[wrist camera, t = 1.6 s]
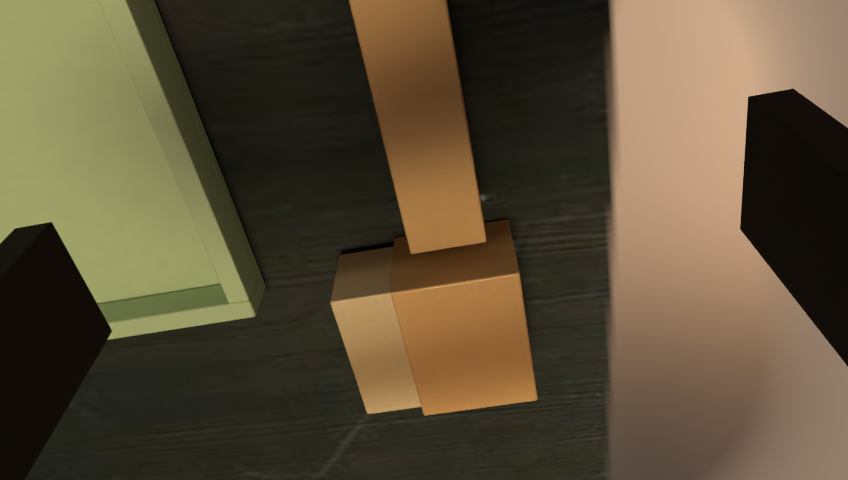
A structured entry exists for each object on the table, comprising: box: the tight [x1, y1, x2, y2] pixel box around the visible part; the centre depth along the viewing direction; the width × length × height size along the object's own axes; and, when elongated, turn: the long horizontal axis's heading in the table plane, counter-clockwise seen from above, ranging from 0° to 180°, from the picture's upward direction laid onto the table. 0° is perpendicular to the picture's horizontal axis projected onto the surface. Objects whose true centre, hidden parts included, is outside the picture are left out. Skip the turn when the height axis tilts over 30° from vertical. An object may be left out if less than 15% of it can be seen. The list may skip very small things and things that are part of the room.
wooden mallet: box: [330, 0, 537, 416], centre depth 23 cm, size 19×7×4 cm, turn 11°
